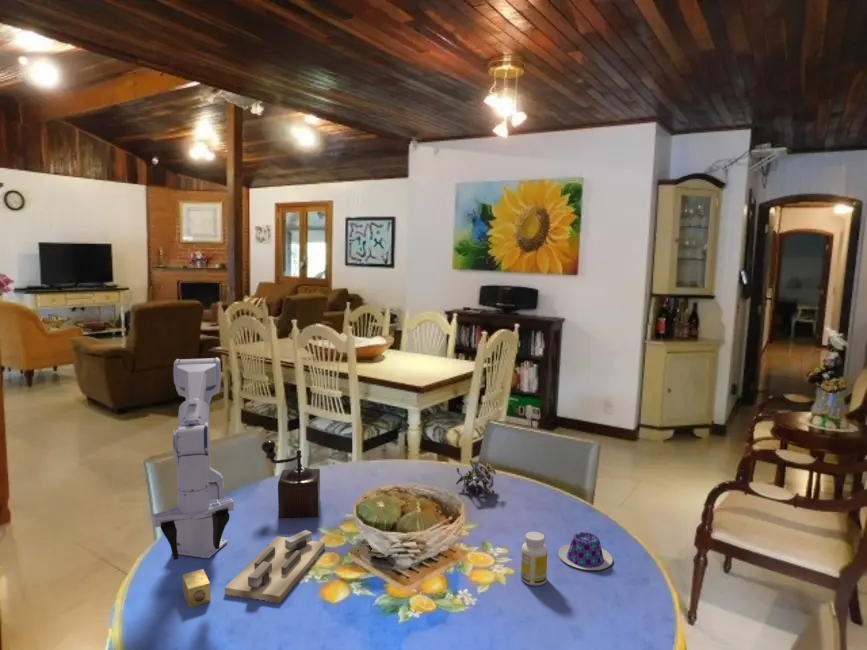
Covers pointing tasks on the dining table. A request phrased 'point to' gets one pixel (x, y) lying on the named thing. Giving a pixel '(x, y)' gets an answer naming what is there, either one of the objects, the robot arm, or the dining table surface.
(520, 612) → the dining table surface
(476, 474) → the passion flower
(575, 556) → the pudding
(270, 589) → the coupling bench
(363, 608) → the dining table surface
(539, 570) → the supplement bottle
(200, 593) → the block
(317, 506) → the brown manual coffee grinder
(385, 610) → the dining table surface
